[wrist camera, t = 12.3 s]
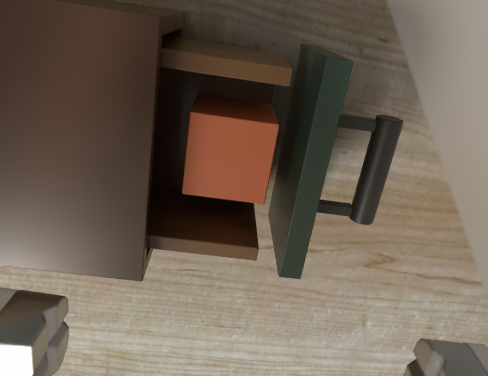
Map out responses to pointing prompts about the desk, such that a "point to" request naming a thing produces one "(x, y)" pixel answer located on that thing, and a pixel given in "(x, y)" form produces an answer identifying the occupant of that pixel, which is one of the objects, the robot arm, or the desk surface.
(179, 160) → the drawer
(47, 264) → the cabinet
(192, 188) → the block
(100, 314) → the desk surface
